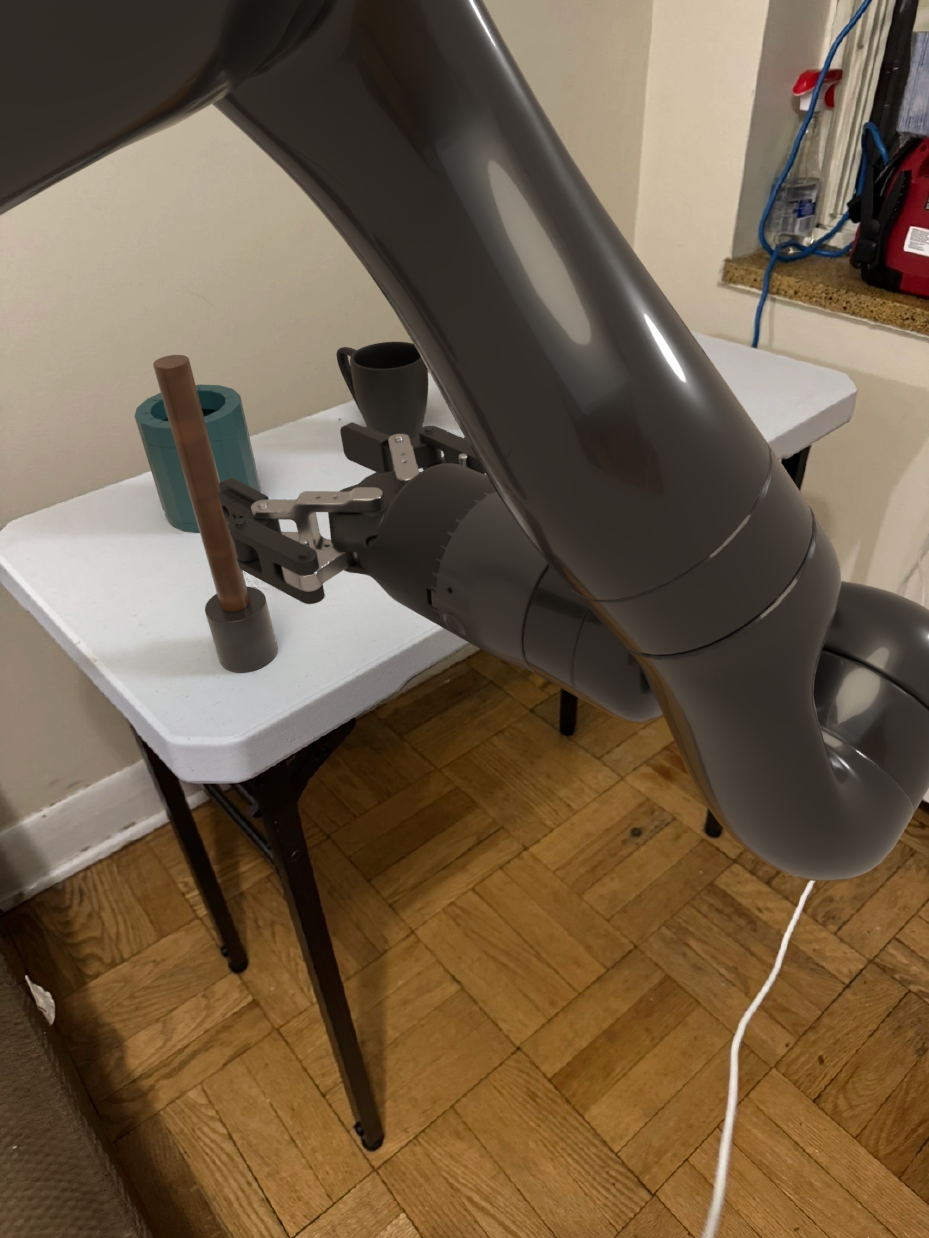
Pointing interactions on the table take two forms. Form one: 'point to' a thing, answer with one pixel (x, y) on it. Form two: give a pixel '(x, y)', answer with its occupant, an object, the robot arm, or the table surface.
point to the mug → (387, 385)
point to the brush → (215, 529)
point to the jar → (226, 445)
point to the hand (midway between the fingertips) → (289, 466)
